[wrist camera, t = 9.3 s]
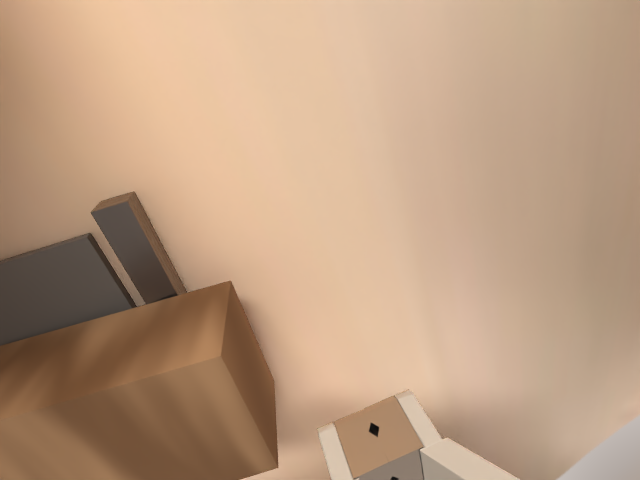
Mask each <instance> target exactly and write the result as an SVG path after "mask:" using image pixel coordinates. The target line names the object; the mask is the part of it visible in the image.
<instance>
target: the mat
mask: <svg viewBox="0 0 640 480" xmlns="http://www.w3.org/2000/svg"><path fill="white" fill-rule="evenodd" d="M132 308H136V305H135V303H134V302H133V300H132V299H131V297H130V295H129V294H128V292H127V291H126V289H125V287H124V286H123V284H122V283H121V281H120V279H119V278H118V276H117V275H116V273H115V271H114V270H113V268H112V267H111V265H110V263H109V262H108V260H107V259H106V257H105V256H104V254H103V252H102V251H101V249H100V248H99V246H98V244H97V243H96V241H95V240H94V238H93V236H92V235H91V233H89V234H85V235H82V236H79V237H76V238H73V239H69V240H66V241H63V242H60V243H56V244H53V245H50V246H47V247H44V248H40V249H37V250H34V251H31V252H28V253H24V254H21V255H18V256H15V257H12V258H8V259H5V260H2V261H0V346H1V345H5V344H8V343H12V342H15V341H19V340H23V339H26V338H30V337H33V336H37V335H40V334H44V333H47V332H51V331H54V330H58V329H61V328H65V327H68V326H72V325H76V324H79V323H83V322H86V321H90V320H93V319H97V318H100V317H104V316H107V315H111V314H114V313H118V312H122V311H125V310H129V309H132Z"/></svg>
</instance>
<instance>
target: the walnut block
mask: <svg viewBox="0 0 640 480" xmlns="http://www.w3.org/2000/svg"><path fill="white" fill-rule="evenodd" d="M276 468H278V449H277V429H276V409H275V389H274V380H273V377H272V375H271V373H270V370H269V368H268V366H267V363H266V361H265V359H264V356H263V354H262V352H261V349H260V347H259V345H258V343H257V340H256V338H255V336H254V333H253V331H252V329H251V326H250V324H249V322H248V319H247V317H246V315H245V312H244V310H243V308H242V305H241V303H240V301H239V298H238V296H237V294H236V292H235V289H234V287H233V285H232V282H231V281H228V282H224V283H220V284H217V285H213V286H210V287H206V288H203V289H199V290H196V291H192V292H189V293H185V294H182V295H178V296H175V297H171V298H167V299H164V300H160V301H157V302H153V303H150V304H146V305H143V306H139V307H136V308H132V309H129V310H125V311H122V312H118V313H114V314H111V315H107V316H104V317H100V318H97V319H93V320H90V321H86V322H83V323H79V324H76V325H72V326H68V327H65V328H61V329H58V330H54V331H51V332H47V333H44V334H40V335H37V336H33V337H30V338H26V339H23V340H19V341H15V342H12V343H8V344H5V345H1V346H0V480H240V479H243V478H247V477H250V476H253V475H256V474H260V473H263V472H266V471H269V470H273V469H276Z"/></svg>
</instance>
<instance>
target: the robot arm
mask: <svg viewBox="0 0 640 480" xmlns="http://www.w3.org/2000/svg"><path fill="white" fill-rule="evenodd" d="M334 425H335V426H334ZM335 428H336V429H335ZM317 431H318V436H319V440H320V443H321V446H322V450H323V453H324V457H325V460H326V464H327V467H328V471H329V474H330V478H331V480H520V479H519V478H517V477H515V476H513V475H512V474H510V473H508V472H506V471H505V470H503V469H501V468H500V467H498V466H496V465H494V464H493V463H491V462H489V461H487V460H486V459H484V458H482V457H481V456H479V455H477V454H475V453H474V452H472V451H470V450H468V449H467V448H465V447H463V446H462V445H460V444H458V443H456V442H455V441H453V440H451V439H450V438H448V437H446V438H444V439H442V437H441V436H440V434H439V433H438V431H437V430H436V428H435V427H434V425H433V423H432V422H431V420H430V419H429V417H428V416H427V414H426V412H425V411H424V409H423V408H422V406H421V405H420V403H419V401H418V400H417V398H416V397H415V395H414V394H413V392H412V391H410V390H409V389H408V390H406V391H403V392H401V393H399V394H397V395H394V396H391V397H389V398H386V399H384V400H382V401H380V402H378V403H375V404H373V405H371V406H369V407H366V408H364V409H363V410H360V411H358V412H356V413H353V414H351V415H348V416H346V417H344V418H341V419H339V420H337V421H334V423H333V422H331V423H329V424H326V425H324V426H322V427H320V428H317ZM339 439H340V440H339ZM340 442H341V443H340Z"/></svg>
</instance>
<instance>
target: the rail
mask: <svg viewBox="0 0 640 480" xmlns="http://www.w3.org/2000/svg"><path fill="white" fill-rule="evenodd" d="M91 214H92V216H93V217H94V219H95V221H96V222H97V224H98V225H99V227H100V229H101V230H102V232H103V234H104V235H105V237H106V239H107V240H108V242H109V244H110V245H111V247H112V249H113V250H114V252H115V253H116V255H117V257H118V258H119V260H120V262H121V263H122V265H123V267H124V268H125V270H126V272H127V273H128V275H129V277H130V278H131V280H132V281H133V283H134V285H135V286H136V288H137V290H138V291H139V293H140V295H141V296H142V298H143V300H144V301H145V303H146V304H150V303H153V302H157V301H160V300H164V299H167V298H171V297H175V296H178V295H182V294H185V293H187V292H186V290H185V288H184V286H183V284H182V282H181V280H180V278H179V276H178V274H177V272H176V271H175V269H174V267H173V265H172V263H171V261H170V259H169V257H168V255H167V253H166V251H165V250H164V248H163V246H162V244H161V242H160V240H159V238H158V236H157V234H156V232H155V230H154V228H153V227H152V225H151V223H150V221H149V219H148V217H147V215H146V213H145V211H144V209H143V207H142V205H141V204H140V202H139V200H138V198H137V196H136V194H135V192H131V193H127V194H124V195H121V196H117V197H114V198H111V199H107V200H104V201H101V202H100V203H99V204H98V205H97V206H96V207H95V208H94V209H93V210H92V211H91Z"/></svg>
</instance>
